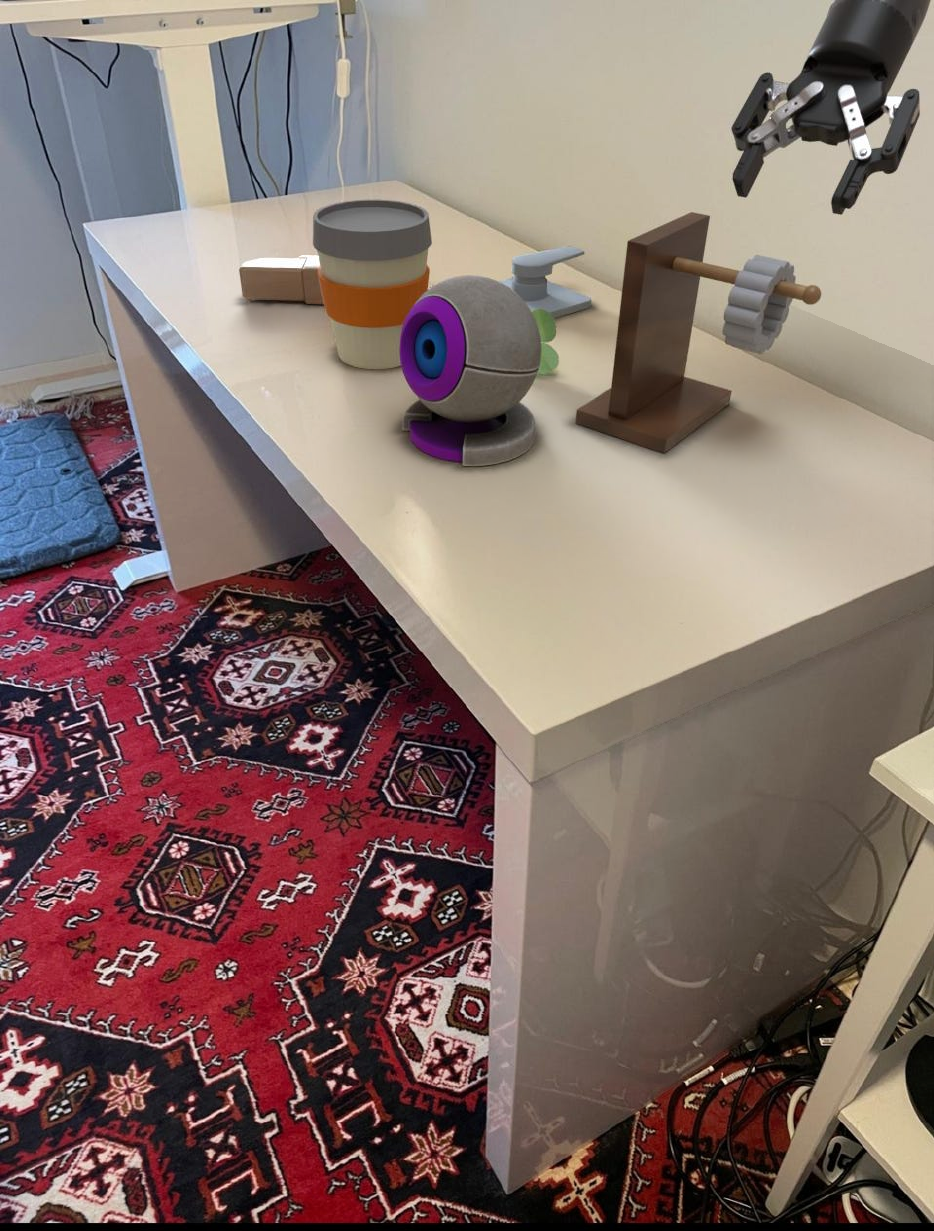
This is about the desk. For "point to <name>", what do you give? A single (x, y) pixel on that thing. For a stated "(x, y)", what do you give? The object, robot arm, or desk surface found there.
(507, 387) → the webcam
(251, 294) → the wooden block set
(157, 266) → the desk surface
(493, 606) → the desk surface
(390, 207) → the reusable coffee cup
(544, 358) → the seedling
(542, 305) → the shower valve
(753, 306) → the grey scalloped ring
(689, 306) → the rack
